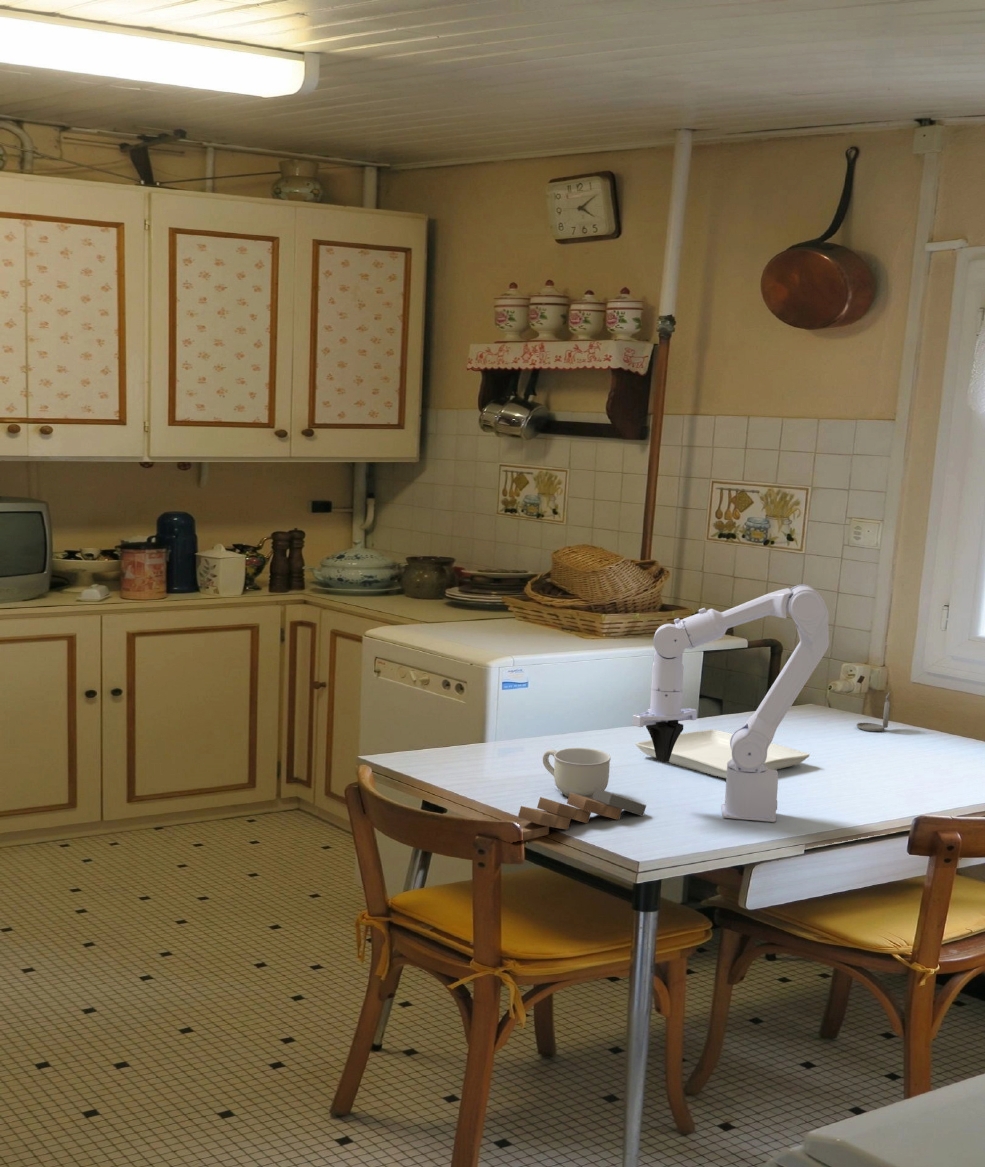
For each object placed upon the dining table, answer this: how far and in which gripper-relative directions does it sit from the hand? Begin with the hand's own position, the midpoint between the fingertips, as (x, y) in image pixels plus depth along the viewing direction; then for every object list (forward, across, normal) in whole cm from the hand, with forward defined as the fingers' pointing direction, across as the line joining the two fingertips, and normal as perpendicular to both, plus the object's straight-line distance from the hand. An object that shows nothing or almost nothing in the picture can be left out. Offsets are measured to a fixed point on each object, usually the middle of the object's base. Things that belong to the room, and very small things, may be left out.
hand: (662, 761), depth 236 cm
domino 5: (+8, +6, 0) cm, 10 cm away
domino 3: (+8, +19, -1) cm, 21 cm away
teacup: (+9, +8, -15) cm, 20 cm away
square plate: (+10, -37, -20) cm, 43 cm away
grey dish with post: (+9, -98, -25) cm, 101 cm away
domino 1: (+8, +25, 0) cm, 26 cm away
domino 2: (+8, +29, +1) cm, 31 cm away
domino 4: (+8, +12, 0) cm, 14 cm away
